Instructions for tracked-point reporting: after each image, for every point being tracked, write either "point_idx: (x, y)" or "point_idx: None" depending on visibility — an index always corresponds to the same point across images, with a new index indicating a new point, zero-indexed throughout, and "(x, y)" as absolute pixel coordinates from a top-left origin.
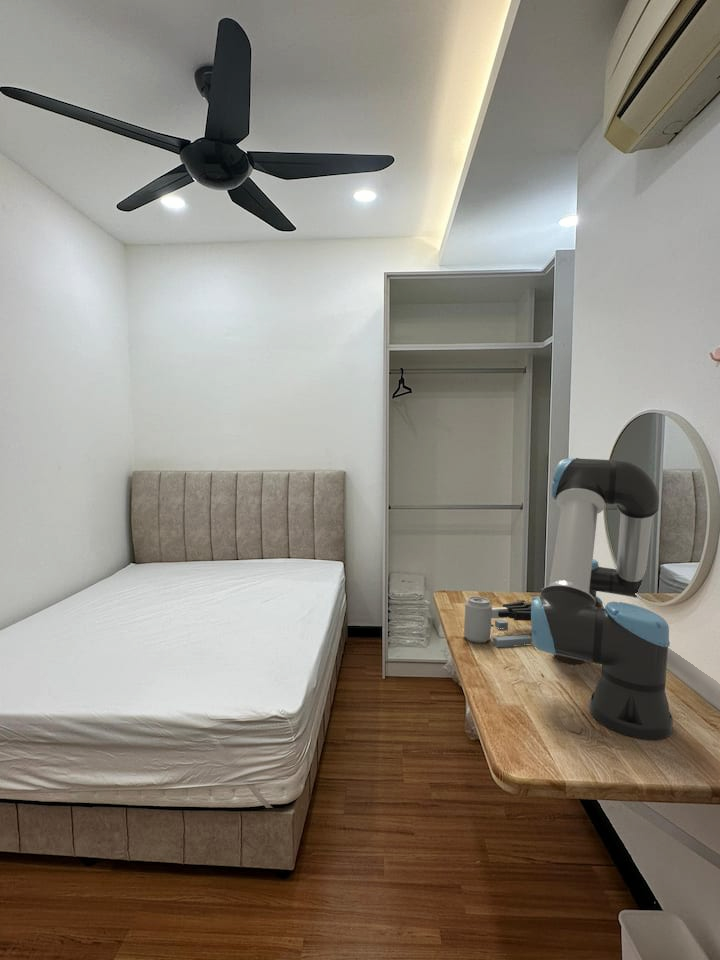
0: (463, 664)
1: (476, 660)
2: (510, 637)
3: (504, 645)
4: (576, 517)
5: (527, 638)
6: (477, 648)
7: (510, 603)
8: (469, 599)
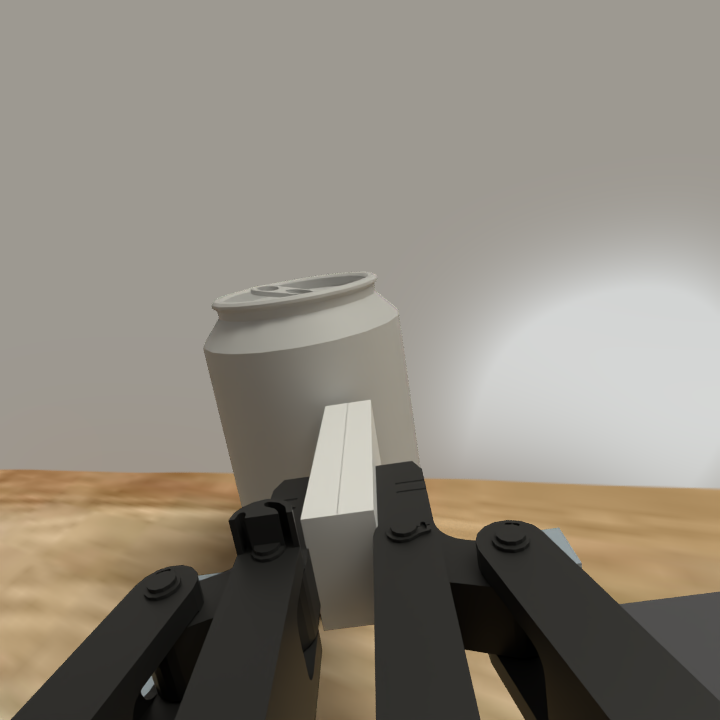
0: (133, 473)
1: (125, 507)
2: (142, 690)
3: None
4: None
5: None
6: (225, 532)
7: (650, 654)
8: (314, 277)
